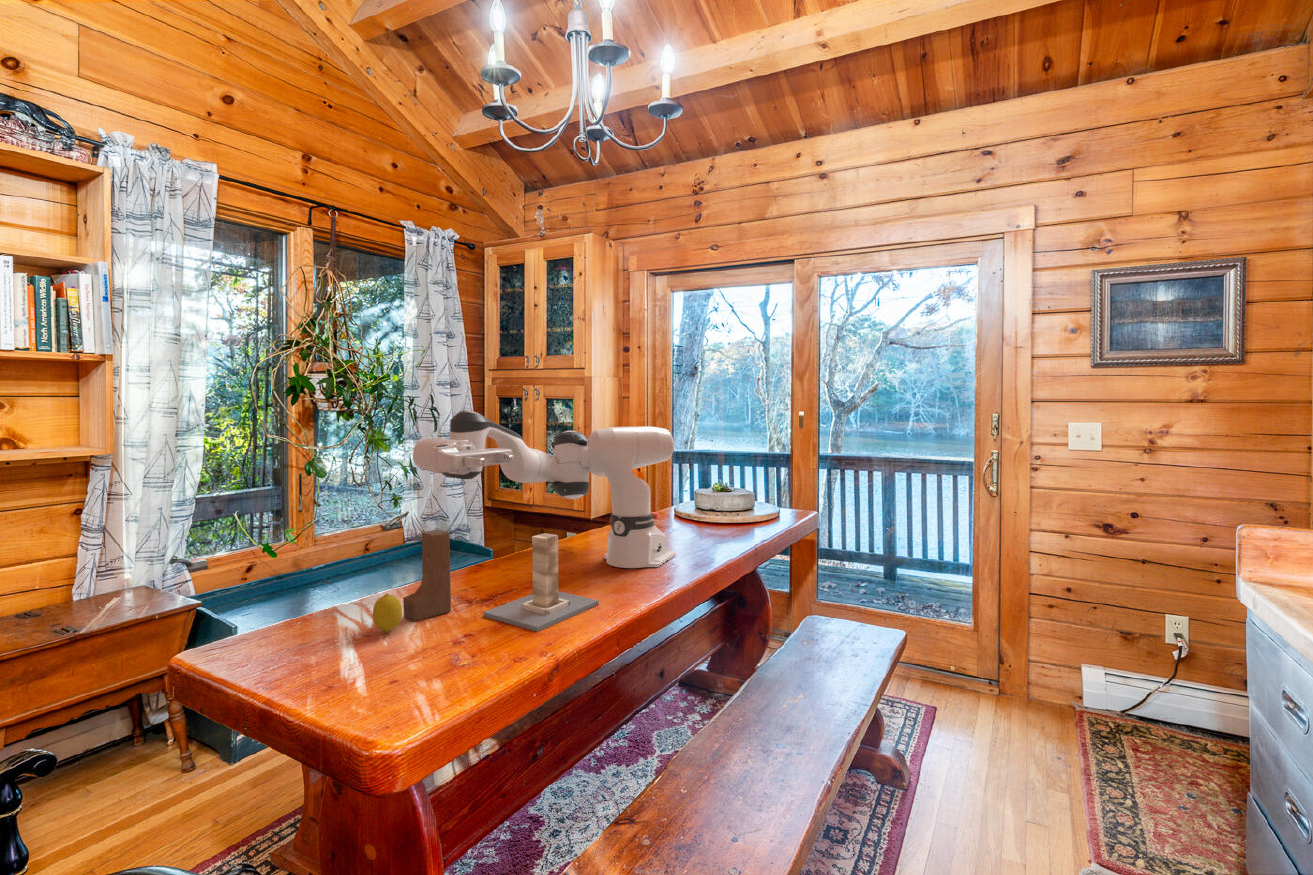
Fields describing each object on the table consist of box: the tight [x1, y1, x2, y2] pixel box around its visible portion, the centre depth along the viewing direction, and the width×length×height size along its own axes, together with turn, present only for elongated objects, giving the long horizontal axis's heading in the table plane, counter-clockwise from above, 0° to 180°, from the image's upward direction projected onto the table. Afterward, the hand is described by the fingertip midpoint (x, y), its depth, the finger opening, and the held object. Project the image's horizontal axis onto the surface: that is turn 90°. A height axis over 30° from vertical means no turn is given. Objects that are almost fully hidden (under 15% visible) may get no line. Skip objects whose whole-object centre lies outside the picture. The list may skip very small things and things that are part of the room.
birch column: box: [531, 532, 560, 609], centre depth 142 cm, size 4×4×16 cm
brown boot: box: [402, 529, 452, 623], centre depth 139 cm, size 9×4×18 cm, turn 137°
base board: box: [482, 591, 600, 633], centre depth 143 cm, size 20×16×2 cm
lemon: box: [372, 593, 403, 634], centre depth 129 cm, size 6×6×8 cm
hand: (497, 460), depth 156 cm, fingers open, 8 cm apart
